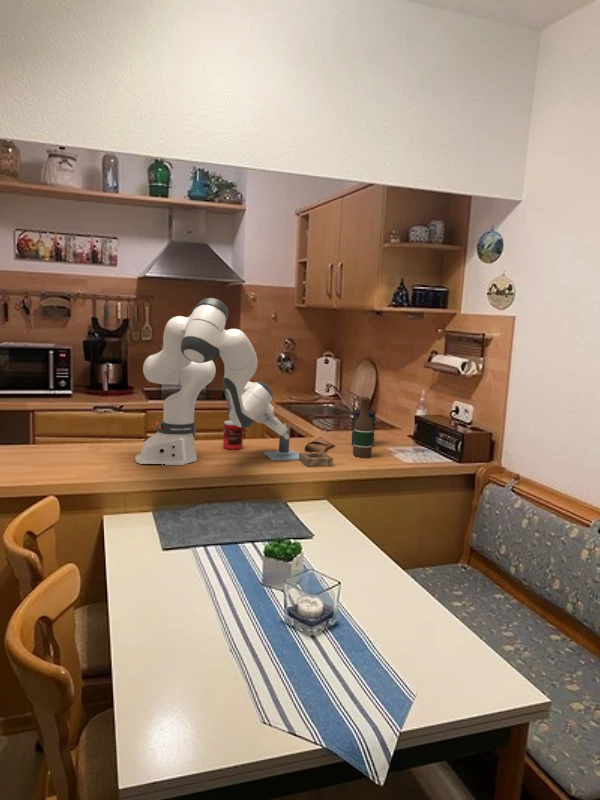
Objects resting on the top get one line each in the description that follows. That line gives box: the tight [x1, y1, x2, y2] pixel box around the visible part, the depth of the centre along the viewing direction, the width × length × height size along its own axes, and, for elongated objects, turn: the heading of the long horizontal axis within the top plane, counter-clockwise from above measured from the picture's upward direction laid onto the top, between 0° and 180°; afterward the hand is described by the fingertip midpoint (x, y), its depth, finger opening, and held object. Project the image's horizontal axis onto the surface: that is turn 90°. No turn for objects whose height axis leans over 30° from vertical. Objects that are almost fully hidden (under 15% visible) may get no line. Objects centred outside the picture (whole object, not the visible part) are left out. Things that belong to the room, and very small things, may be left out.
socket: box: [298, 452, 334, 468], centre depth 231 cm, size 10×10×3 cm
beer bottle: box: [352, 396, 373, 459], centre depth 245 cm, size 8×8×24 cm
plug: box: [278, 422, 291, 453], centre depth 239 cm, size 4×4×11 cm
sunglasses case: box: [304, 436, 336, 453], centre depth 257 cm, size 18×7×7 cm
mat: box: [262, 450, 299, 462], centre depth 240 cm, size 13×13×1 cm
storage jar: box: [351, 409, 377, 447], centre depth 268 cm, size 10×10×15 cm
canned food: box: [222, 419, 244, 451], centre depth 249 cm, size 8×8×11 cm
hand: (285, 436), depth 239 cm, fingers closed on plug, 4 cm apart
